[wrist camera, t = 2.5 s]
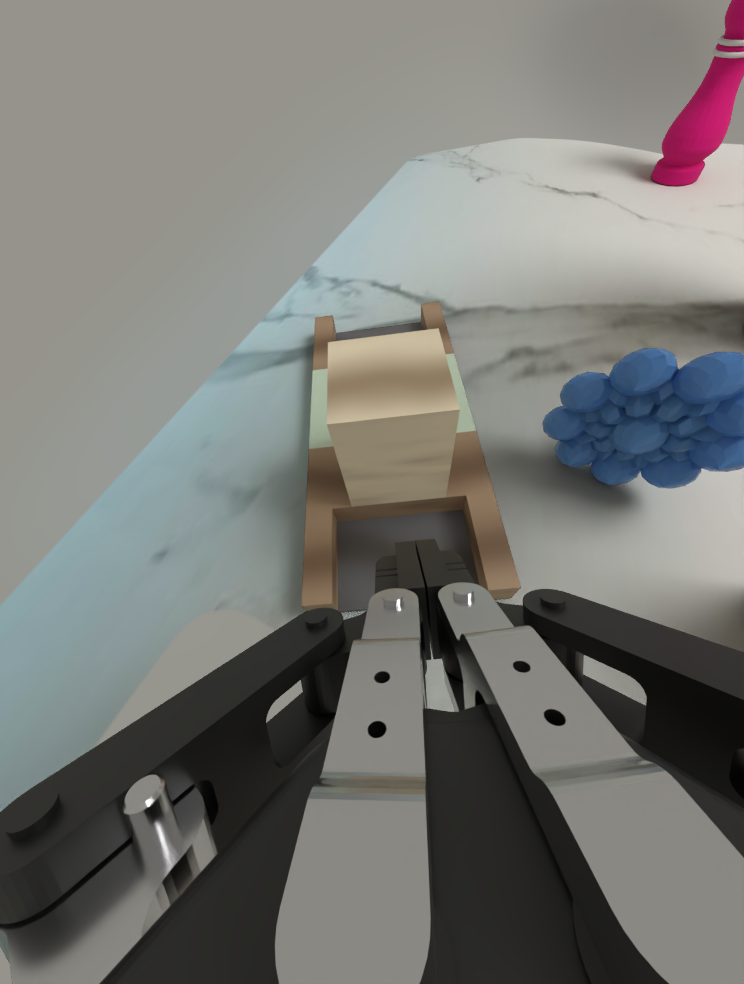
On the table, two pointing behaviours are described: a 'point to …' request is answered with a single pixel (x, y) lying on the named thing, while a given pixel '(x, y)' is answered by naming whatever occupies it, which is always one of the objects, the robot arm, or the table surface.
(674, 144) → the pepper mill
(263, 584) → the table surface
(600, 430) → the grapes
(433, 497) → the beech block
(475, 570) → the board
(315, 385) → the pad
